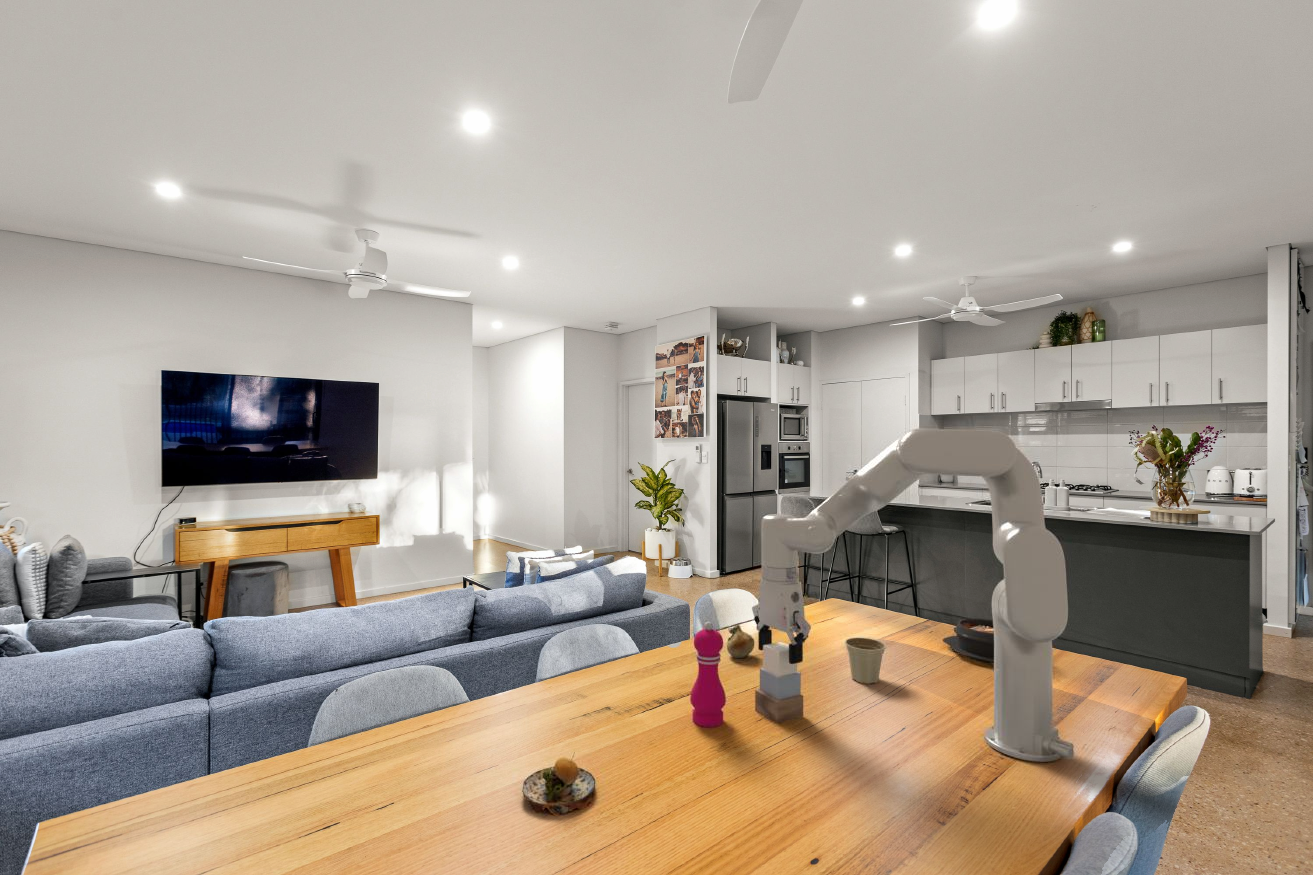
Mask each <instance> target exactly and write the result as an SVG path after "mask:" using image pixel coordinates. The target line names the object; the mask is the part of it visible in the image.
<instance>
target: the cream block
mask: <svg viewBox="0 0 1313 875" xmlns="http://www.w3.org/2000/svg"><path fill="white" fill-rule="evenodd" d="M762 668H763V669H764V670H766V671H768V672H770V673H772V674H774V675H776V676H778V677H780V676H784V675H789V674H793V673H797V671H798V663H796V664H790V663H789V643H784V642H783V641H780V642H774V643H772V644H768V645H763V650H762Z"/></svg>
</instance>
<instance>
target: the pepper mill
mask: <svg viewBox="0 0 1313 875" xmlns="http://www.w3.org/2000/svg"><path fill="white" fill-rule="evenodd" d="M703 626H704V628H702V629H700V630H698V631H697V632H696V634H695V636H694V638H693V646H694V648H695V650H696V653H695V655H696V657H695V661H696V662H697V663H698V664H697V665H698V673H697V677H696V680H695V682H694V684H693V686H692V687H691V691H690V698H689V699H690V700H689V701H690V705H692V707H693V708H694V709H693V710H692V714H691V715H692V722H693V723H694V724H696V725H697V726H700V727H704V728H715V727H719V726H721V725H722V724H723V722H724V711H723V710H722V709H723V708H724V707H725V705H726V702H727V700H726V699H727V698H726V692H725V689H724V687H723V684H722V682H721V680H720V676H719V663H720V662H721V657H722V655H721V653H720V652H721V651H722V649H723V648H724V638H723V636H722V634H721V633H720V632H719V631H717V630H716V629H714V625H713V623H712V622H711V621H707V622H705V623H704V625H703Z"/></svg>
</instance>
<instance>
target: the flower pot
mask: <svg viewBox="0 0 1313 875" xmlns="http://www.w3.org/2000/svg"><path fill="white" fill-rule="evenodd" d="M844 645H845V646H846V650H847V652H848V659H849V668H850V669H849V670H850V675H851V676H850V677H851V679H852V680H855V681H856V682H858V683H861V684H867V685H871V684H872V683H875V684H876V683H878V682H879V680H880V673H881V672H880V671H881V665H882V661H883V655H884V653H885V649H887V645H886V643H884V642H883V641H881V640H878V639H873V638H869V637H850V638H847V639H845V640H844Z"/></svg>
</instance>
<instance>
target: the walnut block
mask: <svg viewBox="0 0 1313 875" xmlns="http://www.w3.org/2000/svg"><path fill="white" fill-rule="evenodd" d="M754 693H755V694H754V705H755V706H754V711H755V712H756V713H759V714H760V715H761V716H763V717H766V718H767V719H768V720H770V721H772V722H774V723H775V724H781V723H784V722H788V721H792V720H796V719H800V718H803V717H804V695H803V694H801V695H797V696H793V697H789V698H784V699H780V700H777V699H775V698H773V697H772V696H770V695H768V694H766V693H765V692H763V691H761V690H760V688H759V689H755V692H754Z"/></svg>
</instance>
